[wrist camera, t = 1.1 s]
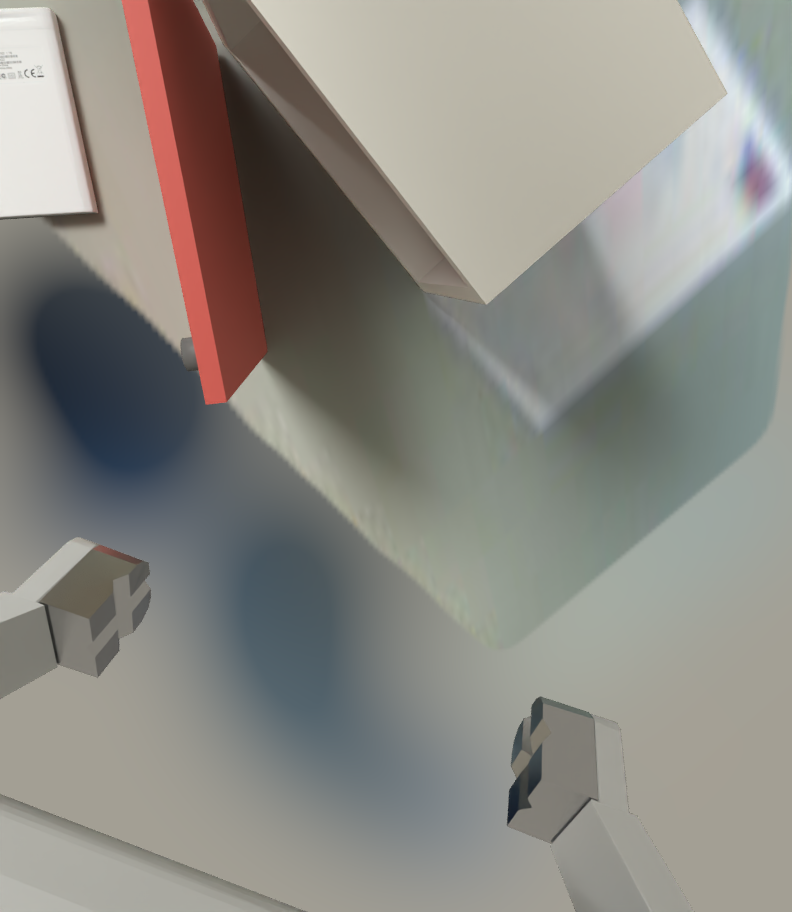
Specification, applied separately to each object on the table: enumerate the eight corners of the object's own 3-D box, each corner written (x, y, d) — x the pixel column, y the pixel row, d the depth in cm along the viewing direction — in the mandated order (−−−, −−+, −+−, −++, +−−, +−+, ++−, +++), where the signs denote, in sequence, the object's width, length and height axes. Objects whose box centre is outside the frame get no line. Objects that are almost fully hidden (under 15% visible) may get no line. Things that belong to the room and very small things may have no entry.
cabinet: (222, 43, 40) (124, -164, 21) (373, -112, 38) (414, -488, 19) (423, 291, 47) (486, 305, 28) (560, 169, 45) (727, 93, 26)
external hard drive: (-14, 221, 42) (-68, 21, 38) (101, 213, 43) (59, 16, 39) (-27, 219, 41) (-85, 10, 37) (92, 211, 41) (48, 5, 38)
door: (177, 48, 39) (48, -140, 21) (216, 45, 40) (119, -143, 22) (234, 355, 46) (172, 408, 28) (267, 351, 46) (226, 402, 28)
